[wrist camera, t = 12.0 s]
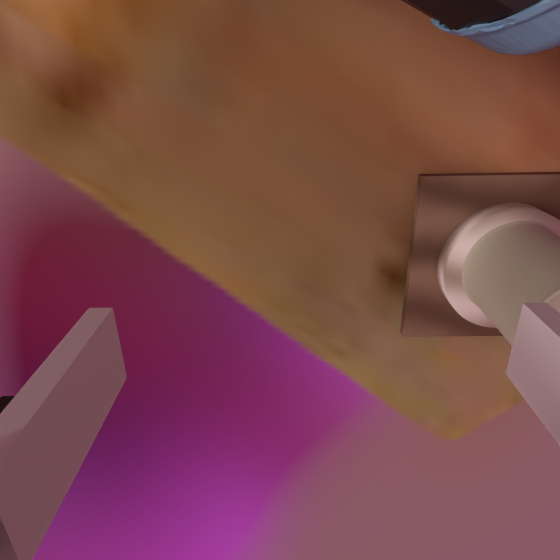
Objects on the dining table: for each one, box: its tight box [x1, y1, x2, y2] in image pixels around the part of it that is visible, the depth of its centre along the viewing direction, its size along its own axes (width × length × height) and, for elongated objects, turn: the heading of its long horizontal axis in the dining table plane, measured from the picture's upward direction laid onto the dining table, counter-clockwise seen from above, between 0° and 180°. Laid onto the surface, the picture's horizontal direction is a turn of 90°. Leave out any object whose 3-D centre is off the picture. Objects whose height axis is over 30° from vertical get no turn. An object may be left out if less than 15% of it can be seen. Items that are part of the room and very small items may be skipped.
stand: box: [400, 172, 560, 337], centre depth 42 cm, size 17×17×4 cm
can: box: [462, 221, 560, 346], centre depth 35 cm, size 9×9×12 cm
